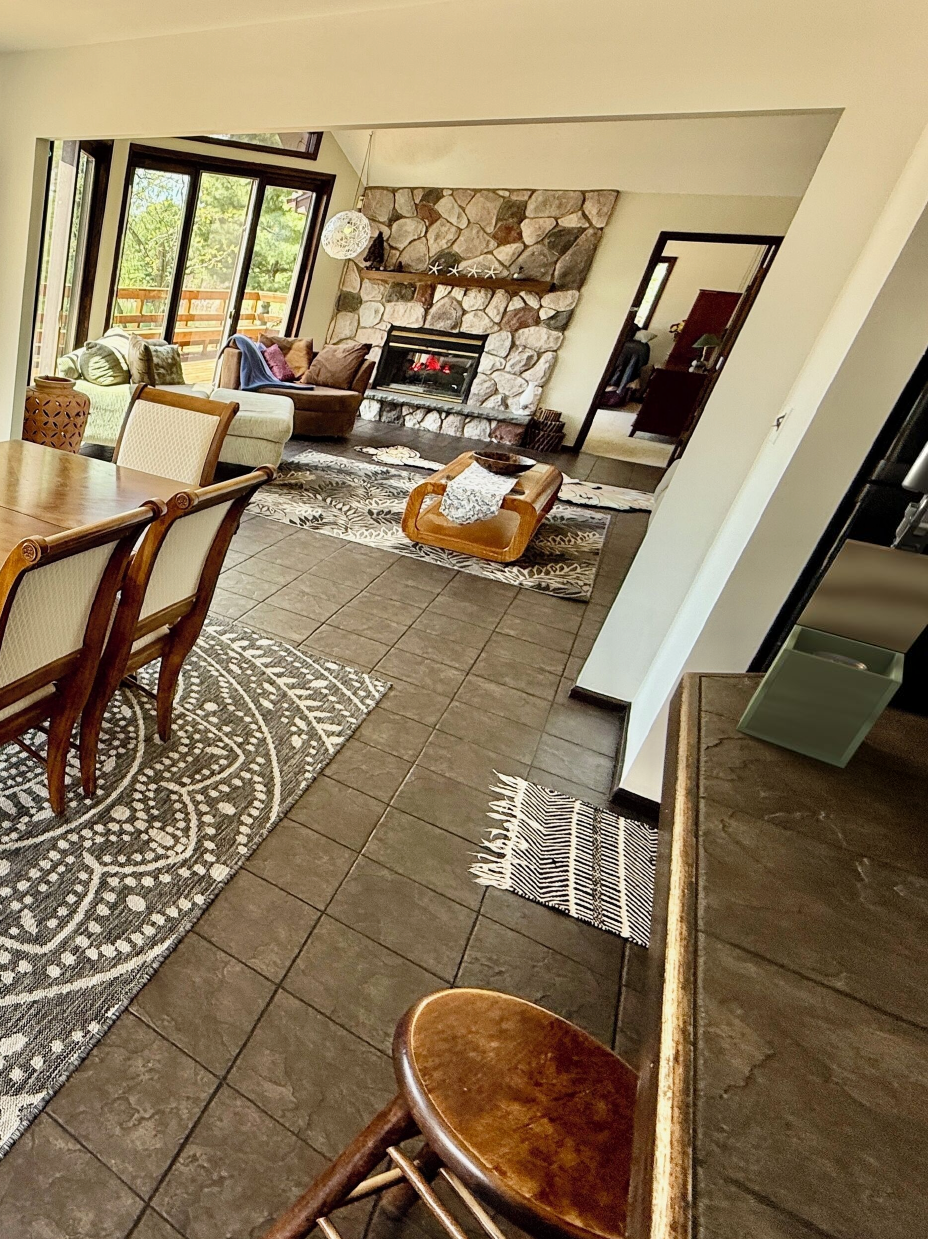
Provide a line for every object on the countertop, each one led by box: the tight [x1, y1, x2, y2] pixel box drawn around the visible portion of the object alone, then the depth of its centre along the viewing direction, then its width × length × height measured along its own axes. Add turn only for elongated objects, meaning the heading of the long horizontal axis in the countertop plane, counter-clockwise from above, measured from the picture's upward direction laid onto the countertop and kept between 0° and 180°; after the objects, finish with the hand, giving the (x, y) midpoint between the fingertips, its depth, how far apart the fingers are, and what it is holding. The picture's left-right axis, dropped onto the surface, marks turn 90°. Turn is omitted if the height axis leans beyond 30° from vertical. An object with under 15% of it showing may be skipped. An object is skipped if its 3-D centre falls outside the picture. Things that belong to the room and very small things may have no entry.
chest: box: [735, 624, 905, 769], centre depth 112 cm, size 16×12×14 cm
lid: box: [796, 538, 928, 654], centre depth 108 cm, size 16×12×1 cm
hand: (887, 578), depth 107 cm, fingers closed
